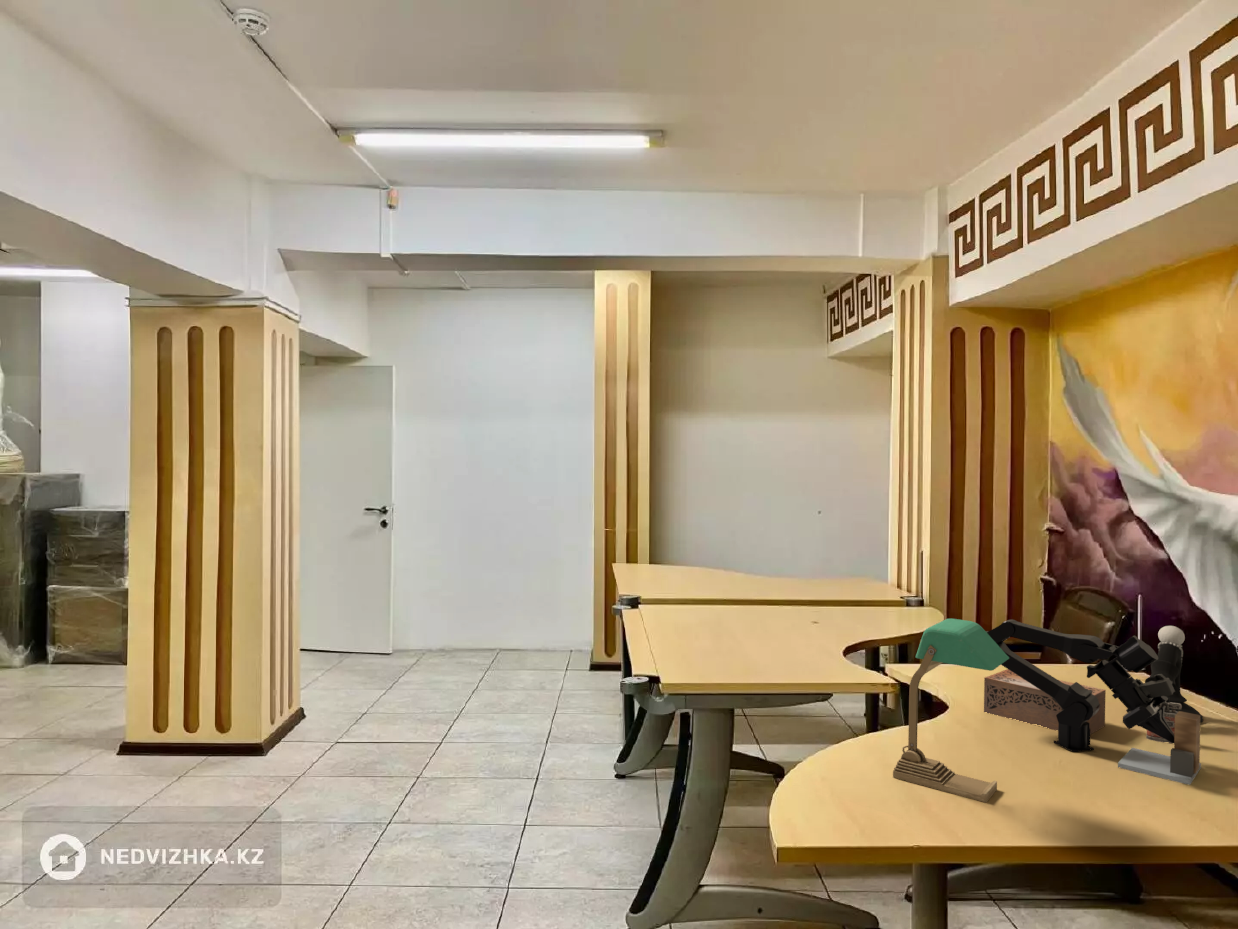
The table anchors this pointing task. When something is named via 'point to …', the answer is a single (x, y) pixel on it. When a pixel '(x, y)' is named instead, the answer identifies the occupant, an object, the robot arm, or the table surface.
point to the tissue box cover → (1031, 701)
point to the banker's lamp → (937, 646)
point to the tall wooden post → (1188, 735)
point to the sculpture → (1171, 665)
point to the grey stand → (1161, 764)
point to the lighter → (1169, 718)
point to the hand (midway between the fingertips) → (1175, 742)
